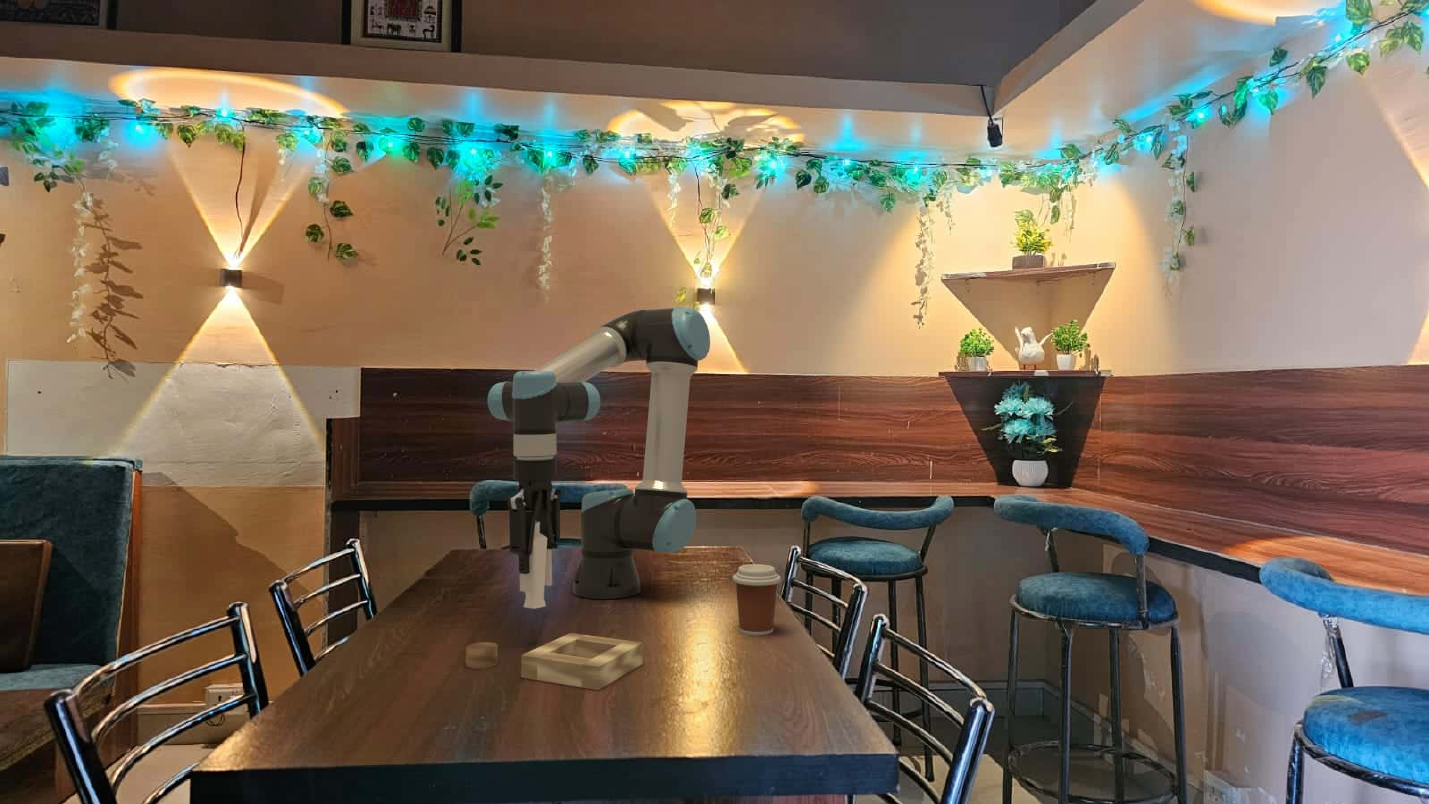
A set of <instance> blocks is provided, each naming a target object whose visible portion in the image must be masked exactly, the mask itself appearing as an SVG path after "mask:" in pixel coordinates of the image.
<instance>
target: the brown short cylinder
mask: <svg viewBox="0 0 1429 804" xmlns="http://www.w3.org/2000/svg"><path fill="white" fill-rule="evenodd" d="M498 646H499V645H498V644H497V643H494V642H491V641H490V642H489V641H483V642H482V641H481V642H474V643H470V644H468V645H466V647H465V666H466V668H468V669H471V670H472V669H473V670H482V669H483V670H484V669H489V668H493V667H496V666H497V665H498Z"/></svg>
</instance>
